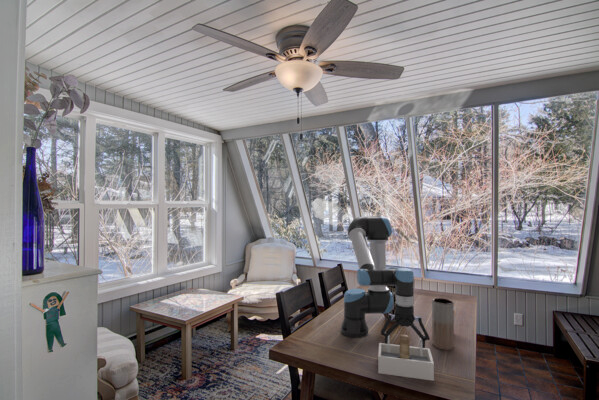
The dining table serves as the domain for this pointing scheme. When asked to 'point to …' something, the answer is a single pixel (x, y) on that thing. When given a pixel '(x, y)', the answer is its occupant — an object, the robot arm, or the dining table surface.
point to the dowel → (404, 346)
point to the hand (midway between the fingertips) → (404, 353)
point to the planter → (443, 323)
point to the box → (405, 362)
